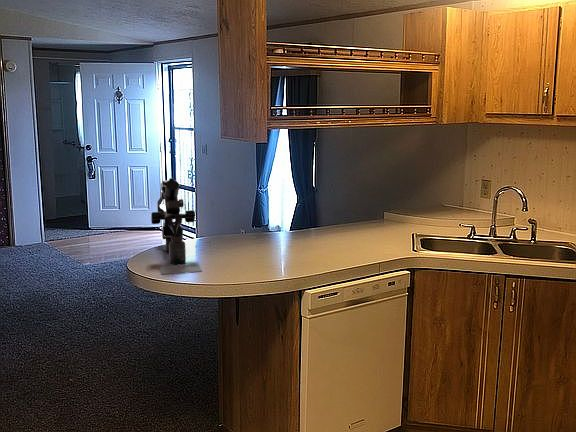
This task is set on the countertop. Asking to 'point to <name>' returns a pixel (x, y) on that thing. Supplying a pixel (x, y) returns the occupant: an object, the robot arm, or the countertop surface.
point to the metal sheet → (180, 269)
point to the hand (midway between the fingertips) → (175, 233)
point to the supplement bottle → (177, 250)
